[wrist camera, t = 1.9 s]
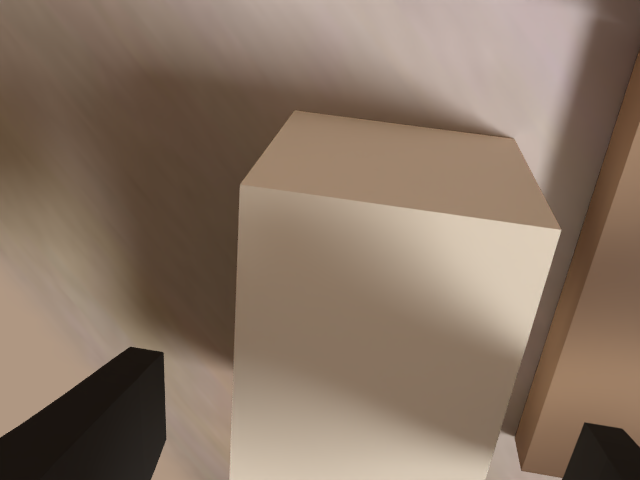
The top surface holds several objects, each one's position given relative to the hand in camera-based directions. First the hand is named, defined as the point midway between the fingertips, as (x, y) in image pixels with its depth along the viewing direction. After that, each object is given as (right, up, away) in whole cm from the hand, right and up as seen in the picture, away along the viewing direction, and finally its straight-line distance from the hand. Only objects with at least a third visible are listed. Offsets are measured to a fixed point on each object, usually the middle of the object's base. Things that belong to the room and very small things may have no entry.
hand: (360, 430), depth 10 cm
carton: (+1, +2, +5) cm, 6 cm away
